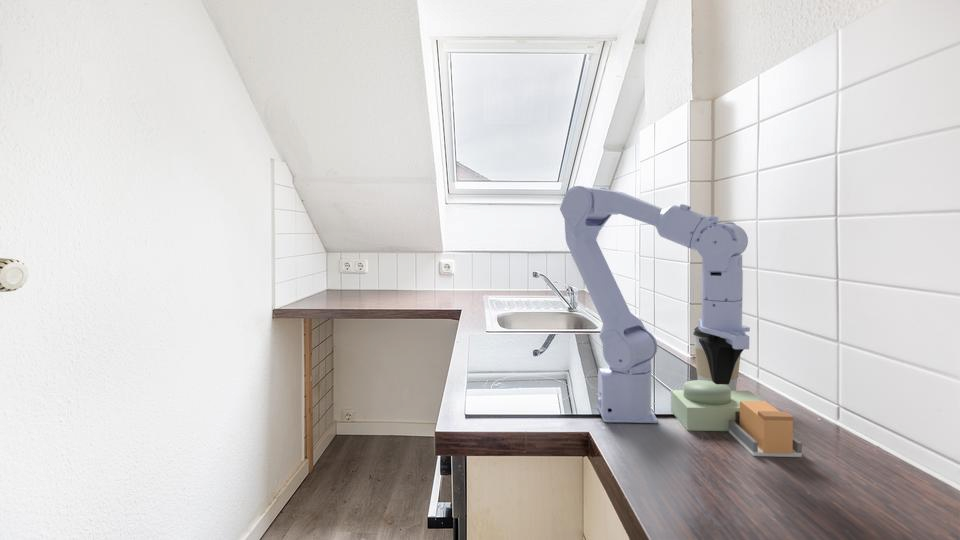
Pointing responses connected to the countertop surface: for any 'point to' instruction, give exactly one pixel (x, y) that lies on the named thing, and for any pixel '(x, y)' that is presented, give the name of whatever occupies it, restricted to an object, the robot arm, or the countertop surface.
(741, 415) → the orange stepped block
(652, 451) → the countertop surface
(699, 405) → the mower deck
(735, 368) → the coffee cup
